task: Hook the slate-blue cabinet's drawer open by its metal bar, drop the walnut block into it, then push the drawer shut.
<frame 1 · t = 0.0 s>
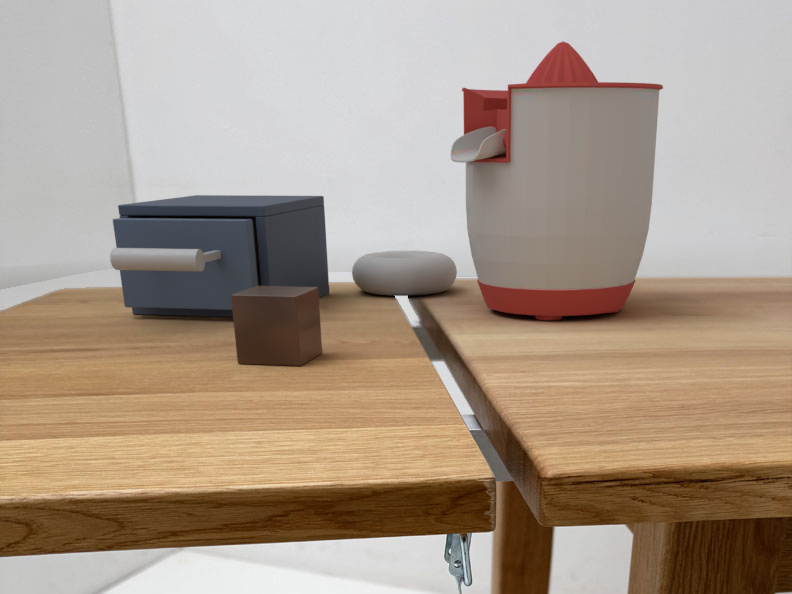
drawer: (206, 259, 85), point 4 cm above the table, slide at 1.0 cm
donut: (405, 293, 98), on the table
citrus juicer: (546, 313, 86), on the table
cabinet: (236, 303, 92), on the table
block: (280, 358, 69), on the table
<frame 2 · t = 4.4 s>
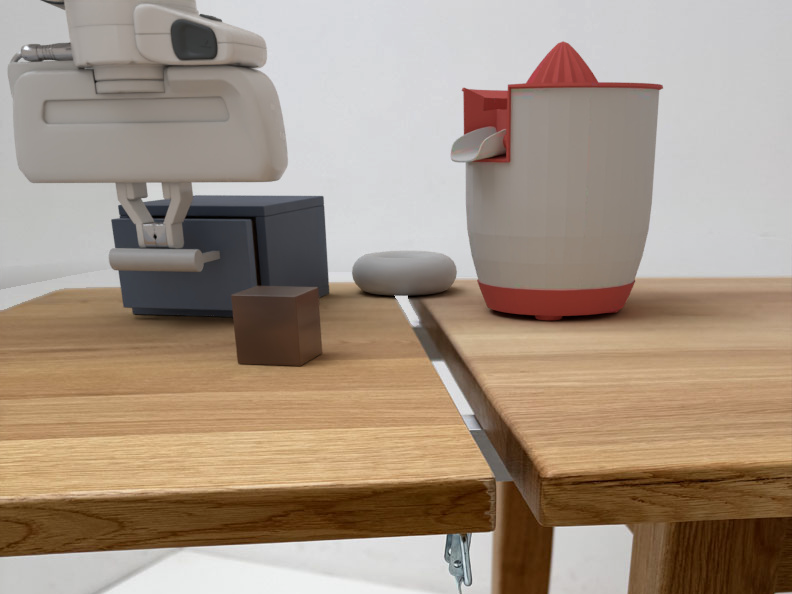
hand: (162, 248, 78), 6 cm above the table, tool pointing down, fingers closed, pressing on drawer
drawer: (205, 259, 85), point 4 cm above the table, slide at 1.2 cm, touching gripper
everything else where it was.
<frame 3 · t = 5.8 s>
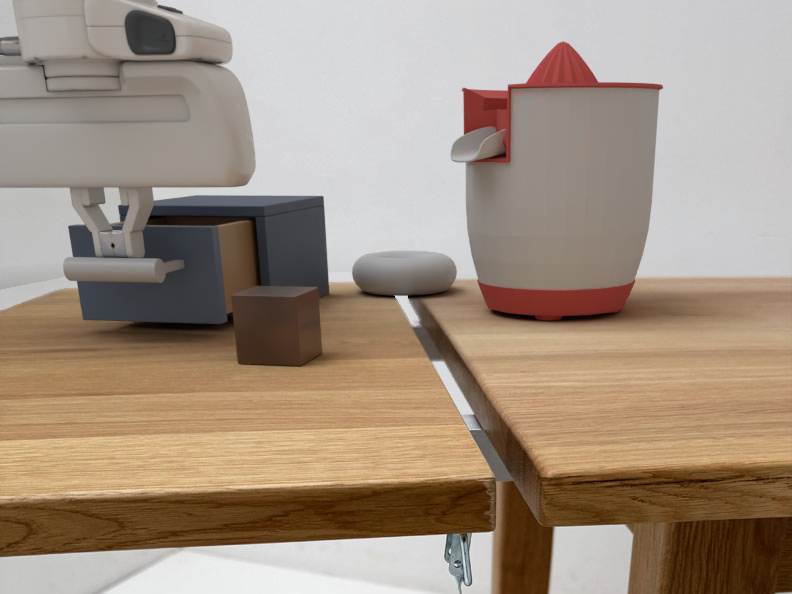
hand: (121, 258, 72), 6 cm above the table, tool pointing down, fingers closed, pressing on drawer
drawer: (170, 268, 80), point 4 cm above the table, slide at 7.5 cm, touching gripper
everything else where it was.
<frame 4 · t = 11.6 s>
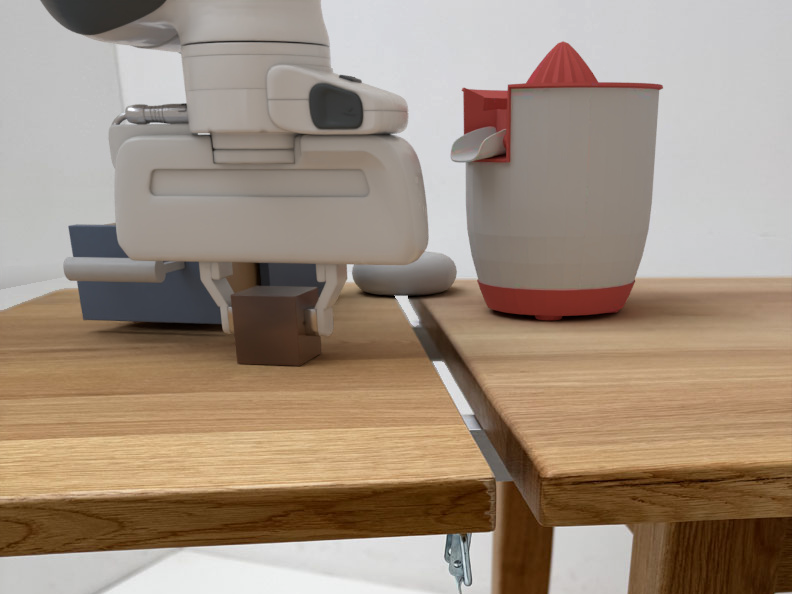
hand: (279, 333, 68), 2 cm above the table, tool pointing down, fingers closed on block, 4 cm apart
drawer: (171, 268, 80), point 4 cm above the table, slide at 7.5 cm
block: (280, 358, 69), on the table, touching gripper
everything else where it was.
when the fingers open (11 cm above the table, at t = 17.5 s): block drops 7 cm, resting on drawer.
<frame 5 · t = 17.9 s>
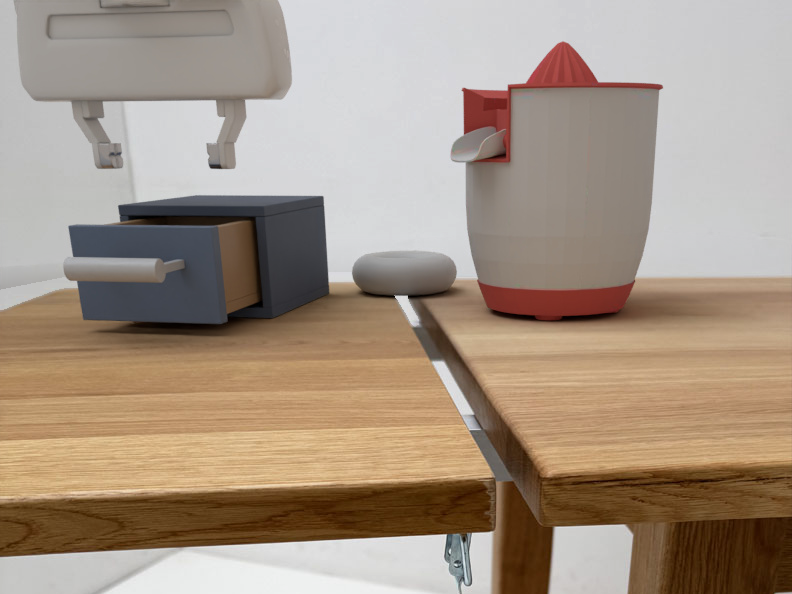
hand: (165, 168, 78), 11 cm above the table, tool pointing down, fingers open, 8 cm apart
drawer: (171, 268, 80), point 4 cm above the table, slide at 7.5 cm, touching block
block: (180, 296, 82), point 2 cm above the table, touching drawer
everything else where it was.
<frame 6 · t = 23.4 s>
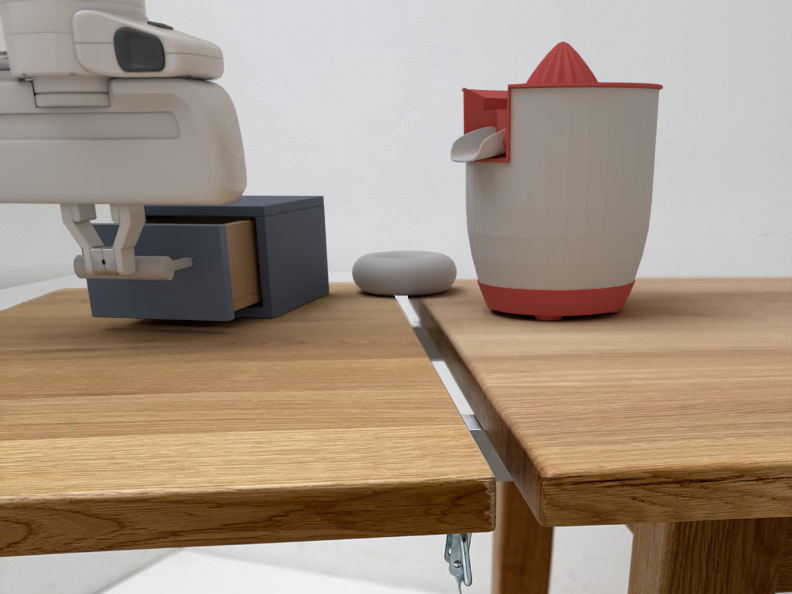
hand: (112, 274, 72), 5 cm above the table, tool pointing down, fingers closed
drawer: (178, 266, 81), point 4 cm above the table, slide at 6.1 cm, touching block, gripper
block: (187, 294, 83), point 2 cm above the table, touching drawer
everything else where it was.
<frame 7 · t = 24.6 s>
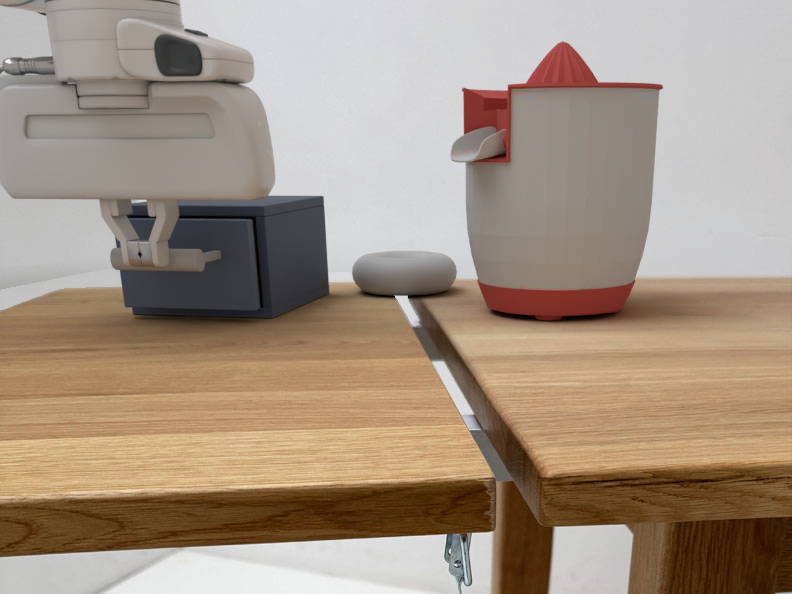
hand: (147, 266, 76), 5 cm above the table, tool pointing down, fingers closed, pressing on drawer
drawer: (206, 259, 85), point 4 cm above the table, slide at 1.0 cm, touching block, gripper
block: (214, 286, 87), point 2 cm above the table, touching drawer
everything else where it was.
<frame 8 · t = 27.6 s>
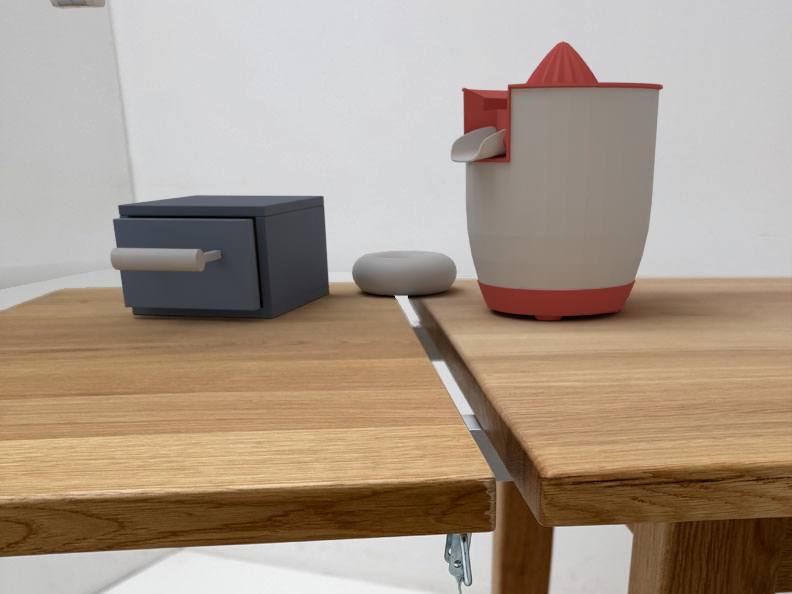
hand: (78, 7, 65), 21 cm above the table, tool pointing down, fingers closed
drawer: (206, 259, 85), point 4 cm above the table, slide at 1.0 cm, touching block
everything else where it was.
at the end: drawer pulled out 7.5 cm at the most during the clip, back to 1.0 cm at the end; block inside the target area in the cabinet (4.0 cm from its centre), point 2.0 cm above the cabinet's base; drawer slide at 1.0 cm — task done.
